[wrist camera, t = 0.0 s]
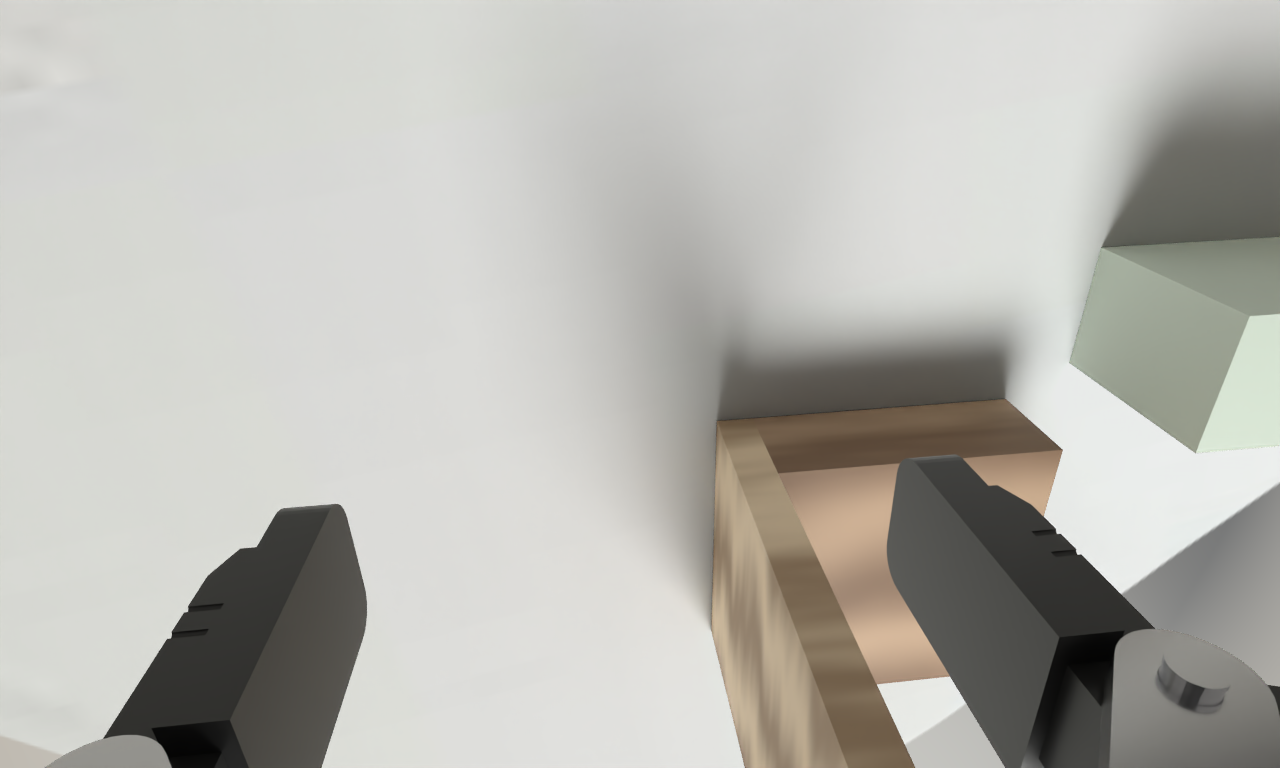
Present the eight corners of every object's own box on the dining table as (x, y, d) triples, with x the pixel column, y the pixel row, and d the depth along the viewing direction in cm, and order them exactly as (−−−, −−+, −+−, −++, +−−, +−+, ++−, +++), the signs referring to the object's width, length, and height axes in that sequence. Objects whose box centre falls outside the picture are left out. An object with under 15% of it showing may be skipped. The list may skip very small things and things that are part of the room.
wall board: (716, 420, 30) (873, 834, 15) (752, 418, 30) (942, 826, 15) (711, 630, 36) (822, 1083, 21) (741, 627, 36) (873, 1076, 21)
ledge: (752, 418, 30) (778, 473, 27) (1005, 398, 31) (1062, 450, 28) (741, 627, 36) (761, 696, 32) (956, 606, 37) (998, 671, 33)
